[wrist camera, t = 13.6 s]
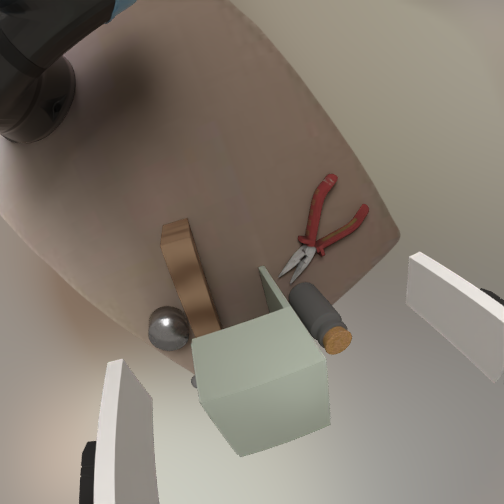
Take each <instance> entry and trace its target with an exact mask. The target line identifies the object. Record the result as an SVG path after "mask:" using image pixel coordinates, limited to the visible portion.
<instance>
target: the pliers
mask: <svg viewBox="0 0 504 504" xmlns="http://www.w3.org/2000/svg"><path fill="white" fill-rule="evenodd" d="M337 179H338V177H337V176H336V175H334V174H328V175H327V176H326V177H325V178H324V180H323V181H322V182H321V183H320V185H319V186H318V187H317V189H316V190H315V192H314V195H313V198H312V201H311V206H310V212H309V217H308V223H307V228H306V233H305V236H298V240H299V241H300V242H301V243H304V245H303V246H302V247H301V248H300V249H298V250H297V251H296V253H295V254H294V255H293V256H292V257H291V259H290V260H289V262H288V263H287V265H286V266H285V268H284V269H283V270H282V272H281V273H280V275H279V276H278V277H281V276H282V275H283V274H285V273H286V272H287V271H289V270H290V269H291V268H293V267H294V266H295V265H296V264H297V263H299V264H298V266H297V268H296V270H295V272H294V275H293V277H292V279H291V281H290V285H291V284H292V283H293V281H294V280H295V279H296V278H297V277H298V276H299V275H300V274H301V272H302V271H303V270H304V269H305V268H306V267H307V266H308V264H309V263H310V261H311V259H312V257H313V256H314V254H315V252H317V253H318V254H319V255H320V256H321V257H322V256H324V255H325V252H324V248H326V247H327V246H329V245H331V244H333V243H335V242H336V241H338V240H340V239H342V238H344V237H345V236H347V235H349V234H351V233H352V232H353V231H355V230H356V229H357V228H358V227H359V226H360V225H361V223H362V222H363V220H364V219H365V217H366V216H367V214H368V212H369V207H368V206H367V205H366V204H363V205H362V206H361V207H360V209H359V210H358V212H357V213H356V215H355V216H354V218H353V219H352V220H351V221H350V222H349V223H348V224H346V225H345V226H343V227H341V228H340V229H338V230H336V231H334V232H332V233H330V234H328V235H327V236H325V237H323V238H321V239H319V240H317V241H316V235H317V231H318V226H319V220H320V215H321V210H322V205H323V202H324V199H325V197H326V195H327V193H328V192H329V191H330V189H331V188H332V187H333V185H334V184H335V183H336V181H337ZM304 256H305V258H304V259H303V260H300V259H301V258H303V257H304Z"/></svg>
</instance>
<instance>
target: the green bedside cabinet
mask: <svg viewBox="0 0 504 504" xmlns="http://www.w3.org/2000/svg"><path fill="white" fill-rule="evenodd" d="M258 268H259V272H260V276H261V280H262V284H263V288H264V292H265V296H266V300H267V304H268V308H269V312H270V313H269V314H266V315H264V316H261V317H258V318H255V319H252V320H249V321H246V322H243V323H240V324H237V325H234V326H231V327H228V328H225V329H222V330H219V331H216V332H213V333H210V334H207V335H204V336H200V337H197V338H194V339H192V344H191V348H192V355H193V362H194V369H195V376H193V377H192V379H191V383H192V385H193V386H194V387H195V388H197V389H198V396H199V402H200V404H201V405H202V407H203V408H204V410H205V411H206V413H207V414H208V416H209V417H210V419H211V420H212V421H213V423H214V424H215V425H216V427H217V428H218V430H219V431H220V432H221V434H222V435H223V437H224V438H225V439H226V441H227V442H228V443H229V445H230V446H231V447H232V449H233V450H234V451H235V452H236V454H238V455H239V456H240V457H243V456H246V455H250V454H253V453H257V452H260V451H263V450H266V449H269V448H272V447H275V446H278V445H281V444H284V443H287V442H289V441H292V440H295V439H297V438H300V437H302V436H305V435H307V434H310V433H312V432H315V431H317V430H320V429H322V428H324V427H326V426H329V425H330V405H329V389H328V375H327V362H326V358H325V356H324V355H323V353H322V352H321V350H320V349H319V348H318V346H317V344H316V343H315V342H314V340H313V338H312V337H311V335H310V334H309V332H308V331H307V329H306V328H305V326H304V325H303V323H302V322H301V320H300V319H299V317H298V316H297V314H296V313H295V312H294V310H293V309H292V307H291V306H290V304H289V303H288V301H287V300H286V298H285V297H284V295H283V294H282V292H281V291H280V289H279V288H278V286H277V285H276V283H275V282H274V280H273V279H272V277H271V276H270V274H269V273H268V271H267V270H266V268H265V267H264V266H261V267H258Z"/></svg>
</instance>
